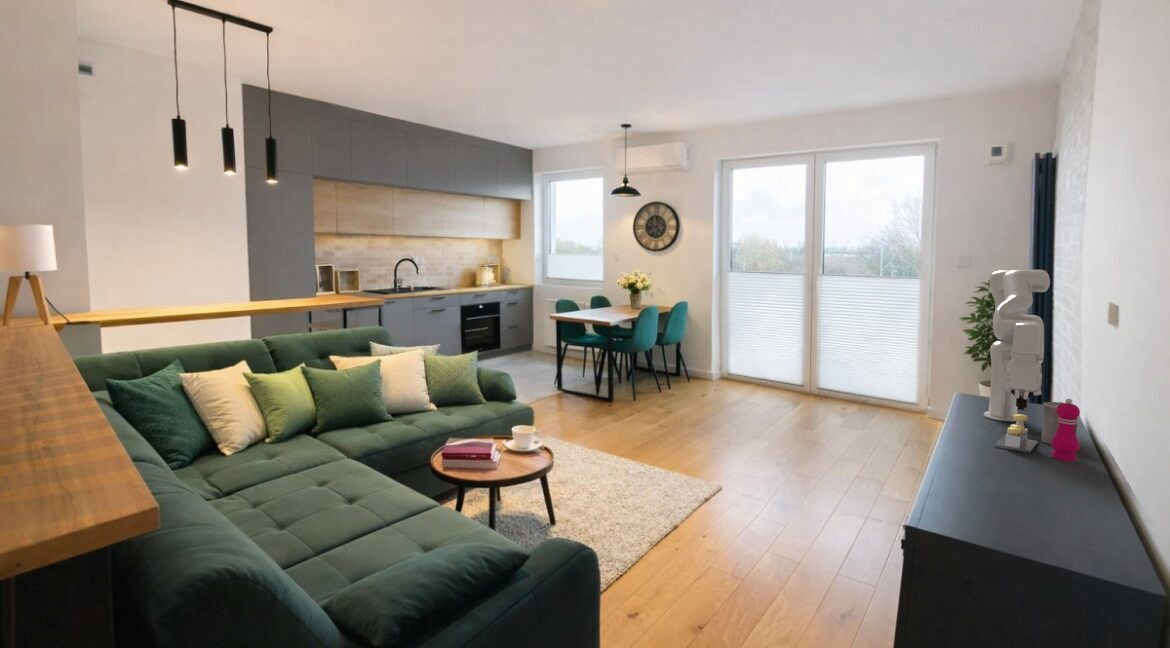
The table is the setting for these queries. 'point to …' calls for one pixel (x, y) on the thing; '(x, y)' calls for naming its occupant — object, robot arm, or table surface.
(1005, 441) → the mount plate
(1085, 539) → the table surface
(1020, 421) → the knob
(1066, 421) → the pepper mill
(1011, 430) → the knob
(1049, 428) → the pillar candle
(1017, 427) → the knob
